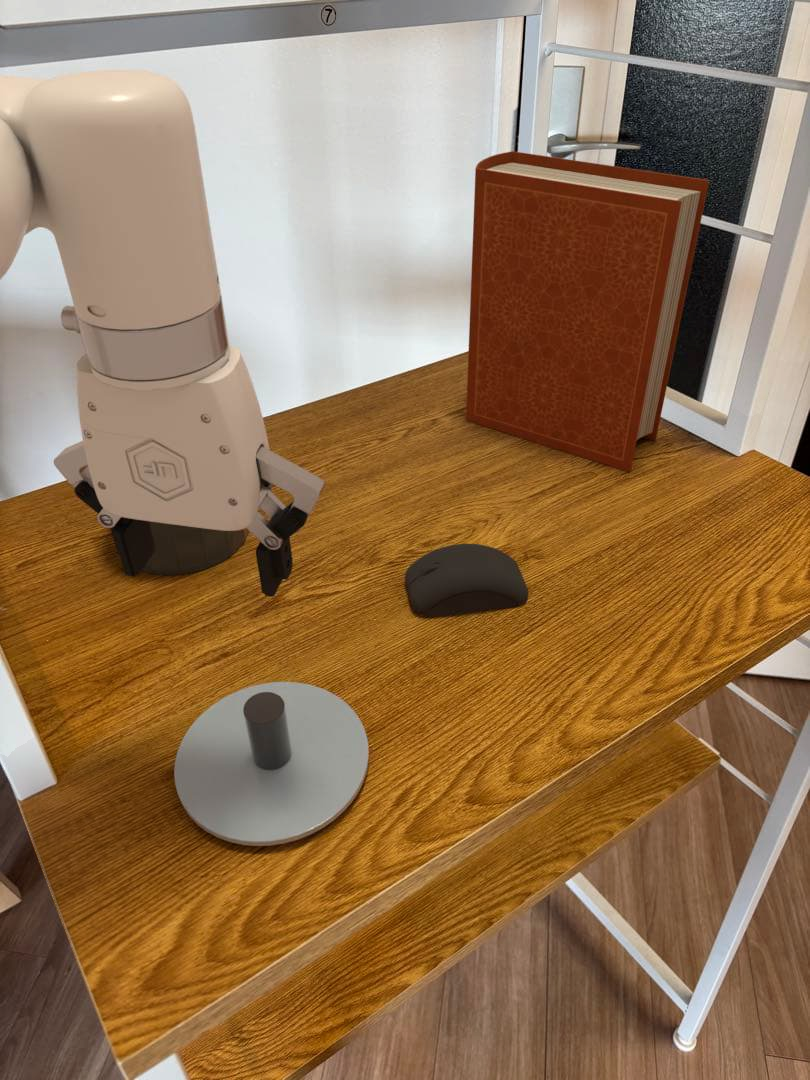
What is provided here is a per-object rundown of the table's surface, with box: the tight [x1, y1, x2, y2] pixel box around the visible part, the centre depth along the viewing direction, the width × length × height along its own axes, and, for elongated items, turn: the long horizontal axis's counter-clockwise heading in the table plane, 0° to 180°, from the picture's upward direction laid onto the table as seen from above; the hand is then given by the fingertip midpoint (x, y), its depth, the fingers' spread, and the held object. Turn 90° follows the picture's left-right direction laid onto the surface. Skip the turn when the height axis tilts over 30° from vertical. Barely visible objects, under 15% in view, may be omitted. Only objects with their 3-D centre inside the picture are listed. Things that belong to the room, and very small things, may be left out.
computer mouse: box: [404, 543, 529, 618], centre depth 79 cm, size 6×11×4 cm, turn 99°
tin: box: [140, 521, 250, 576], centre depth 84 cm, size 14×14×10 cm
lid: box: [173, 681, 370, 847], centre depth 62 cm, size 15×15×7 cm
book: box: [465, 150, 710, 473], centre depth 94 cm, size 23×8×30 cm, turn 56°
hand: (207, 572), depth 56 cm, fingers open, 9 cm apart
